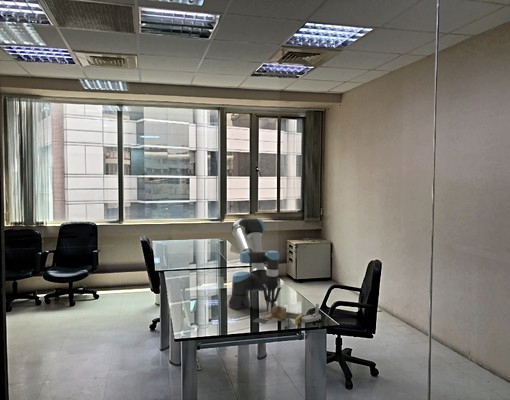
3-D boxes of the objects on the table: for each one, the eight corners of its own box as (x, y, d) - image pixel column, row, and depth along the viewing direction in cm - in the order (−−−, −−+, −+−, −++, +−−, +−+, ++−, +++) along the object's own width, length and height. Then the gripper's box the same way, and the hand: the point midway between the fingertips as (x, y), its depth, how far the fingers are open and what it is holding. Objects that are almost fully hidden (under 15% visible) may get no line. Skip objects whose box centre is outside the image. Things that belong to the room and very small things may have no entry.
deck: (263, 318, 254) (263, 316, 254) (269, 313, 265) (269, 311, 265) (294, 324, 246) (295, 322, 246) (300, 319, 256) (300, 317, 256)
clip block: (271, 317, 254) (271, 306, 254) (274, 314, 258) (274, 304, 258) (283, 319, 251) (283, 308, 250) (285, 317, 255) (286, 306, 255)
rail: (263, 318, 254) (263, 312, 254) (269, 313, 265) (269, 308, 264) (296, 324, 246) (297, 319, 246) (301, 319, 256) (302, 314, 256)
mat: (252, 322, 246) (252, 321, 246) (257, 318, 254) (257, 317, 254) (264, 324, 243) (264, 323, 243) (269, 320, 251) (269, 320, 251)
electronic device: (299, 306, 254) (317, 302, 262) (299, 321, 254) (316, 317, 263) (305, 308, 249) (323, 304, 258) (304, 324, 250) (322, 319, 258)
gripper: (260, 275, 255) (258, 311, 256) (279, 277, 250) (277, 315, 251) (264, 273, 262) (262, 308, 263) (283, 275, 257) (281, 312, 258)
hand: (270, 312), depth 257 cm, fingers closed
